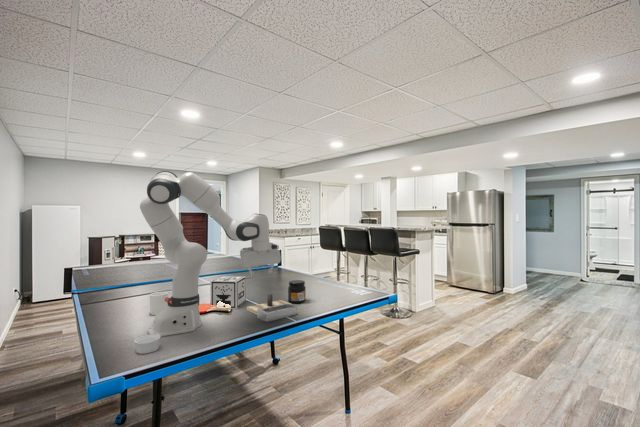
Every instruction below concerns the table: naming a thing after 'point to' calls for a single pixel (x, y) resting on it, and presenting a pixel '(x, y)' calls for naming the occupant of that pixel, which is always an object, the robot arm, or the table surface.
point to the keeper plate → (266, 304)
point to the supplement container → (296, 292)
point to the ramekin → (147, 343)
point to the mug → (157, 302)
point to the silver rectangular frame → (276, 312)
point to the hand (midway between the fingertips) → (261, 274)
